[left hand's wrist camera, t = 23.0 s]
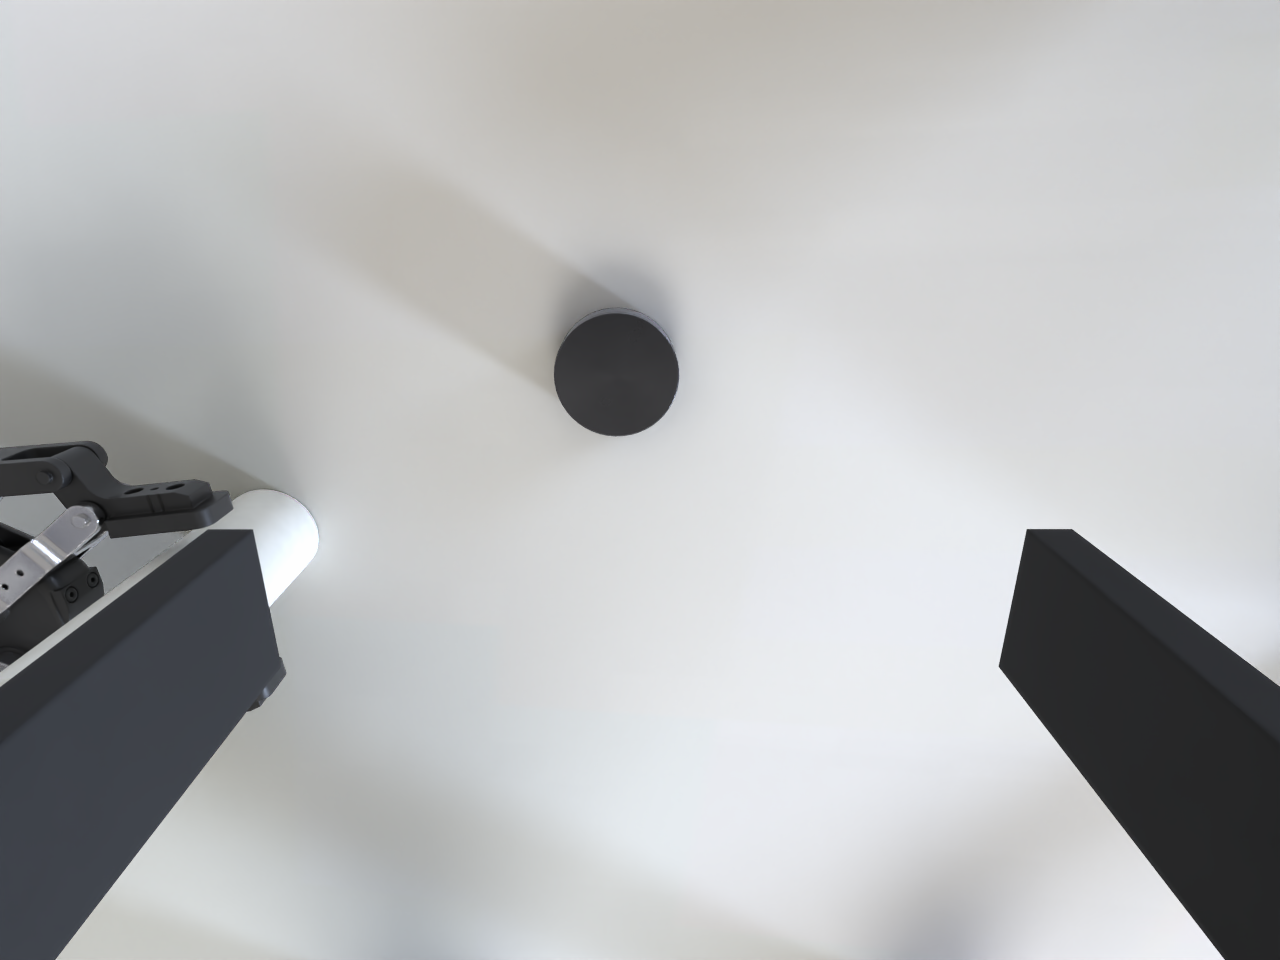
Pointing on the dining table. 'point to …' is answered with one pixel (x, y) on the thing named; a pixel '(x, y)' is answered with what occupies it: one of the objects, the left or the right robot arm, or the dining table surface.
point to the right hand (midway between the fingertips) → (249, 596)
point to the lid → (616, 372)
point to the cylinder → (271, 514)
